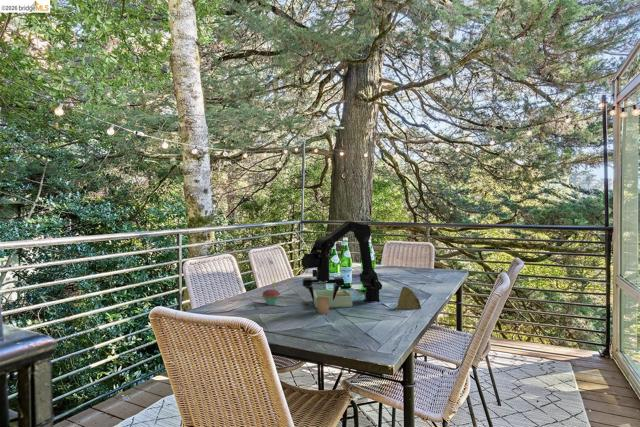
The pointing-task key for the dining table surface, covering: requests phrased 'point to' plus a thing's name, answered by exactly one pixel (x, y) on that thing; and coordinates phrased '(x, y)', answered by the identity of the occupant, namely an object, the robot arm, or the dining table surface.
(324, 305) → the tan capsule
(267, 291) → the cupcake
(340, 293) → the maple cube
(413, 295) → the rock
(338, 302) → the tote
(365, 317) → the dining table surface
